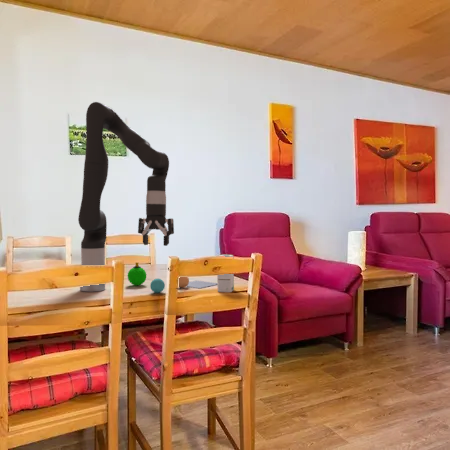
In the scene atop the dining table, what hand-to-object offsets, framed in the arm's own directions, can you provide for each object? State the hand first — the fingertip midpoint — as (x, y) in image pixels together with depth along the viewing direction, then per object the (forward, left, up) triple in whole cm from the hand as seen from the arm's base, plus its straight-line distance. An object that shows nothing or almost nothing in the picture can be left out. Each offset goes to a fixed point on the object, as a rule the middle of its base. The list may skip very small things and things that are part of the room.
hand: (155, 245), depth 161 cm
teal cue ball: (0, +3, -16) cm, 17 cm away
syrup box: (+27, +6, -19) cm, 34 cm away
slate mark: (+16, +22, -19) cm, 33 cm away
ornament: (-11, +20, -19) cm, 30 cm away
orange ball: (+9, +14, -16) cm, 23 cm away
